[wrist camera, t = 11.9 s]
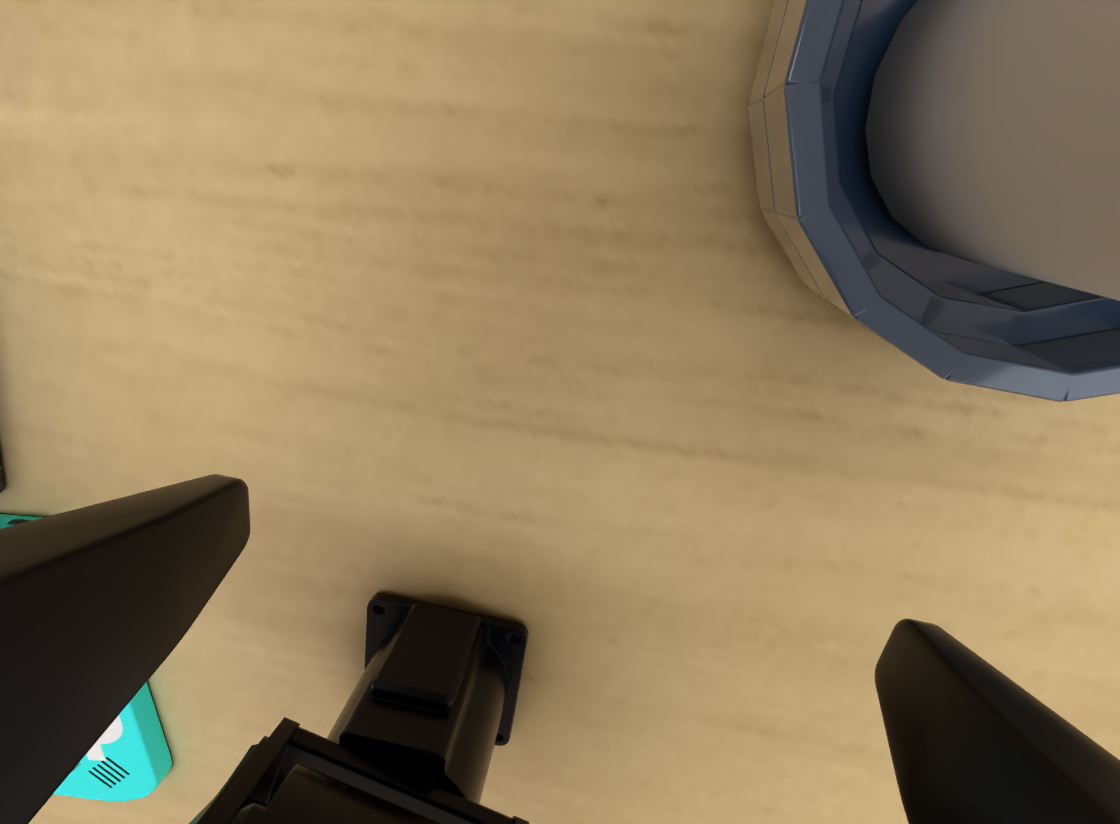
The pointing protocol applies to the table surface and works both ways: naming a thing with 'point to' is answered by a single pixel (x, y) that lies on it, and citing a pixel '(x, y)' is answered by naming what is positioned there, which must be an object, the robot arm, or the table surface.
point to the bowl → (881, 242)
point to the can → (1005, 135)
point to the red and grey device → (1, 480)
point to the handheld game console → (118, 746)
